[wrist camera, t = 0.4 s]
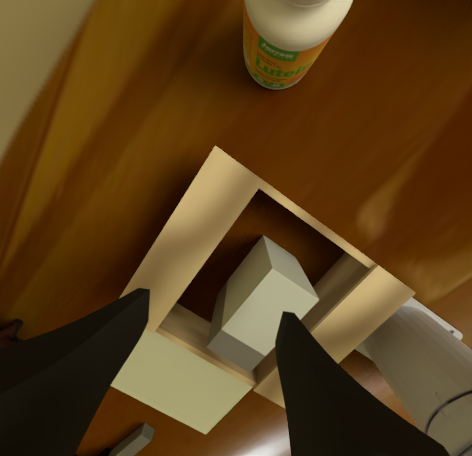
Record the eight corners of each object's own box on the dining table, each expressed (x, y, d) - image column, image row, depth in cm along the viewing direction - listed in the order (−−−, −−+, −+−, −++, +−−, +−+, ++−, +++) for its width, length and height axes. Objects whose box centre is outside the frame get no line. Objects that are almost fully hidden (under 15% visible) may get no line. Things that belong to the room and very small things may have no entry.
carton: (382, 268, 21) (416, 293, 17) (280, 369, 25) (287, 409, 21) (221, 149, 19) (215, 145, 15) (135, 283, 23) (111, 310, 19)
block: (295, 257, 21) (319, 299, 15) (247, 312, 23) (249, 372, 17) (263, 234, 21) (272, 268, 14) (217, 293, 23) (206, 347, 16)
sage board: (261, 370, 26) (262, 377, 25) (206, 427, 28) (205, 434, 28) (142, 301, 23) (139, 305, 23) (96, 369, 26) (91, 376, 26)
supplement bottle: (245, 94, 18) (247, 14, 8) (241, 12, 16) (237, -199, 7) (312, 88, 17) (393, -1, 8) (315, 4, 16) (418, -227, 6)
